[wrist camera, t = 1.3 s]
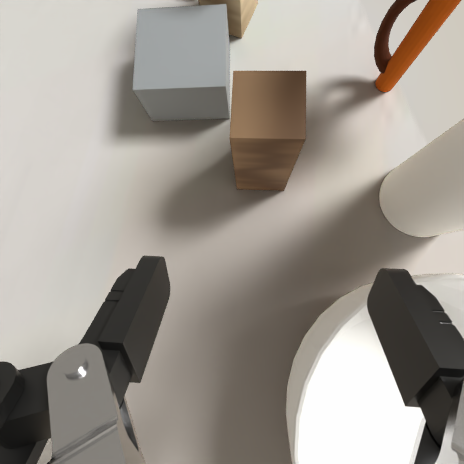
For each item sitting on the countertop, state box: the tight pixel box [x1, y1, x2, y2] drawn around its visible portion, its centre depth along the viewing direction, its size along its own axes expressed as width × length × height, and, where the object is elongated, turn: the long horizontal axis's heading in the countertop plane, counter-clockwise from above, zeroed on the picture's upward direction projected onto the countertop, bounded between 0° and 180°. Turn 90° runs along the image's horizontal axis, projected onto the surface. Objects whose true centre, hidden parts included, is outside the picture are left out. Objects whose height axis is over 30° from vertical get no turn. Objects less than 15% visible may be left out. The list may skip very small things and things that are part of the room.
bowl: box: [286, 273, 464, 464], centre depth 18 cm, size 20×20×8 cm
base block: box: [133, 4, 230, 121], centre depth 26 cm, size 8×8×5 cm
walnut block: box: [230, 71, 306, 191], centre depth 21 cm, size 4×4×10 cm
